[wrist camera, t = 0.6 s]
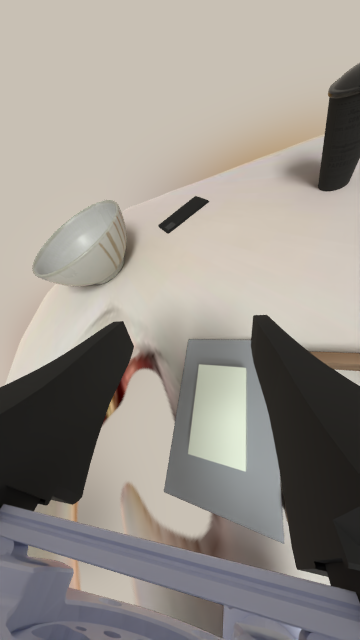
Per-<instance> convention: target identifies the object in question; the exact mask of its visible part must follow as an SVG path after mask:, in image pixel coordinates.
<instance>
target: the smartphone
mask: <svg viewBox="0 0 360 640" xmlns="http://www.w3.org/2000/svg"><path fill="white" fill-rule="evenodd" d="M208 202H209V201H208V200H205V199H203V198H200V197H197V196H195V197H194V198H192V199H191V200H190V201H189V202H187V203H186V204H185V205H183V206H182V207H181V208H180V209H178V210H177V211H176V212H175V213H173V214H172V215H171V216H170V217H168V218H167V219H166V220H164V221H163V222H162V223H161V224H159V227H160V228H161V229H162V230H164V231H165V232H166V233H170V232H171V231H173V230H174V229H175V228H177V227H178V226H179V225H180V224H182V223H183V222H184V221H185V220H187V219H188V218H189V217H190V216H192V215H193V214H194V213H196V212H197V211H198V210H199V209H201V208H202V207H203V206H204V205H206V204H207V203H208Z"/></svg>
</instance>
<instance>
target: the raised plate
mask: <svg viewBox="0 0 360 640" xmlns="http://www.w3.org/2000/svg"><path fill="white" fill-rule="evenodd" d="M199 364H202V365H215V366H229V367H242V368H246V370H247V470H246V472H245V471H242V470H239V469H235V468H232V467H229V466H226V465H222V464H219V463H216V462H213V461H209V460H206V459H203V458H200V457H196V456H193V455H190V454H188V449H189V441H190V433H191V425H192V417H193V409H194V401H195V393H196V385H197V377H198V369H199ZM164 492H166V493H168V494H170V495H172V496H175V497H177V498H179V499H181V500H184V501H186V502H188V503H191V504H193V505H195V506H198V507H200V508H202V509H205V510H207V511H209V512H211V513H214V514H216V515H218V516H221V517H223V518H225V519H228V520H230V521H232V522H234V523H237V524H239V525H241V526H244V527H246V528H248V529H251V530H253V531H255V532H258V533H260V534H262V535H264V536H267V537H269V538H271V539H274V540H276V541H278V542H281V543H283V544H284V531H283V516H282V501H281V486H280V471H279V465H278V459H277V454H276V449H275V443H274V438H273V433H272V428H271V423H270V418H269V414H268V410H267V406H266V402H265V399H264V396H263V393H262V389H261V386H260V383H259V379H258V376H257V373H256V369H255V366H254V362H253V357H252V350H251V340H213V339H189V340H188V346H187V352H186V358H185V365H184V371H183V377H182V383H181V389H180V395H179V402H178V408H177V414H176V420H175V426H174V432H173V439H172V445H171V451H170V457H169V463H168V470H167V476H166V482H165V488H164Z"/></svg>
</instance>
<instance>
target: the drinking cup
mask: <svg viewBox="0 0 360 640" xmlns="http://www.w3.org/2000/svg"><path fill="white" fill-rule="evenodd" d="M328 96H329V97H330V98H329V107H328V114H327V122H326V129H325V130H326V131H325V137H324V145H323V153H322V160H321V168H320V176H319V184H318V188H319V189H320V190H323V191H333V190H337V189H340V188H342V187H344V186H345V185H347V184H348V183H349V181H350V178H351V176H352V174H353V172H354V170H355V167H356V165H357V163H358V161H359V158H360V63H359V64H357V65H356V66H354V67H353V68H351V69H350V70H349V71H347V72H346V73H345V74H344V75H343V76H342V77H341V78H339V79H338V80H337V81H335V82H334V83H333V84H332V85H331V86H330V88H329V91H328Z"/></svg>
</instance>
